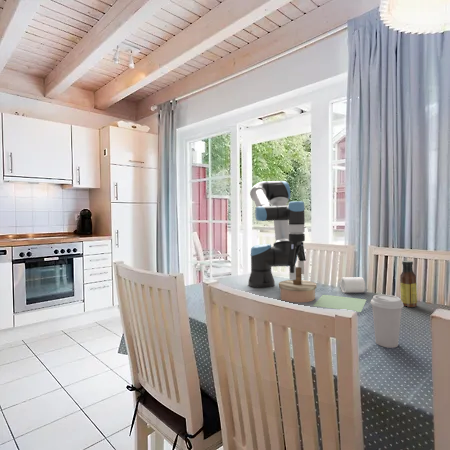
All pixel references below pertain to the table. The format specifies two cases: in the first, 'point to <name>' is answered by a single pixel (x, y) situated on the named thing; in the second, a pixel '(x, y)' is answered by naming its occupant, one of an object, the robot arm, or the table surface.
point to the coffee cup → (387, 319)
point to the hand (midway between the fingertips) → (297, 276)
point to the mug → (352, 285)
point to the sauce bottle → (408, 285)
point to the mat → (340, 303)
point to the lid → (298, 283)
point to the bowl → (297, 295)
